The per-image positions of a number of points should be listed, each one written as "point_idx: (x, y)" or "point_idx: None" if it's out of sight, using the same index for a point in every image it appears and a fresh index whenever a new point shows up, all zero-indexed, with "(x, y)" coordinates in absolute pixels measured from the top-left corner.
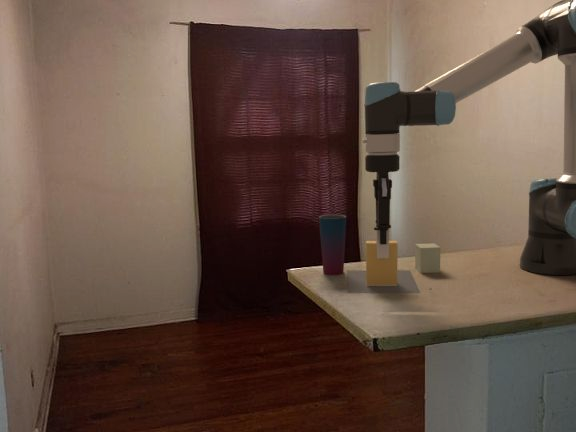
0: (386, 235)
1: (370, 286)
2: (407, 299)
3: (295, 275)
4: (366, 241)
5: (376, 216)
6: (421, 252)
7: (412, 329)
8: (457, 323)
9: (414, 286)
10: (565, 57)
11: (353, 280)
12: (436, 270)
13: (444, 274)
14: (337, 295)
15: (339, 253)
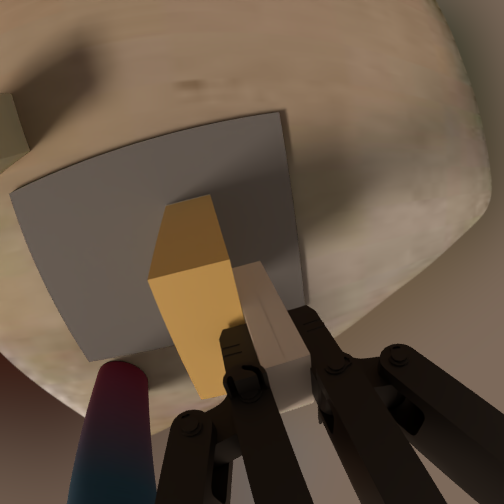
0: (331, 335)
1: None
2: (323, 149)
3: (163, 428)
4: (215, 395)
5: (230, 488)
6: None
7: (477, 146)
8: (450, 60)
9: (206, 135)
10: None
11: None
12: (7, 103)
13: (8, 81)
14: None
15: (133, 415)
